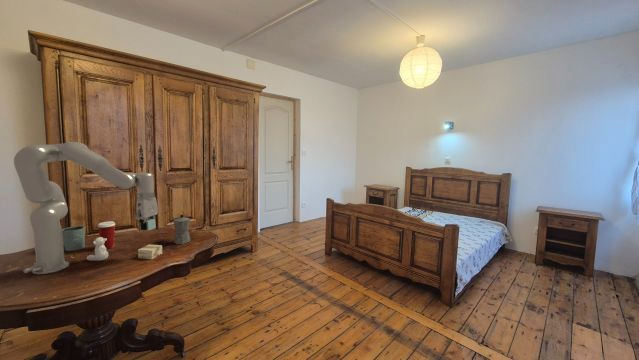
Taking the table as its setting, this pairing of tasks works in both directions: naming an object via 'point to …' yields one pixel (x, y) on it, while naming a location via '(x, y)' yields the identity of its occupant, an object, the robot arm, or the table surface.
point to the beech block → (150, 251)
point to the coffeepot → (181, 230)
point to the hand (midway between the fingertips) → (148, 228)
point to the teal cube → (150, 224)
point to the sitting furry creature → (99, 250)
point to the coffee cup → (107, 233)
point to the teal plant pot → (74, 238)
